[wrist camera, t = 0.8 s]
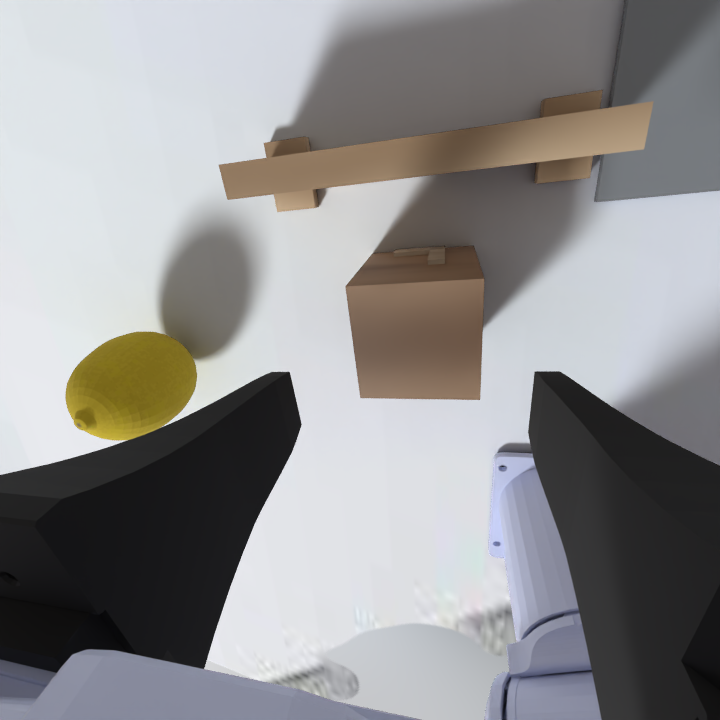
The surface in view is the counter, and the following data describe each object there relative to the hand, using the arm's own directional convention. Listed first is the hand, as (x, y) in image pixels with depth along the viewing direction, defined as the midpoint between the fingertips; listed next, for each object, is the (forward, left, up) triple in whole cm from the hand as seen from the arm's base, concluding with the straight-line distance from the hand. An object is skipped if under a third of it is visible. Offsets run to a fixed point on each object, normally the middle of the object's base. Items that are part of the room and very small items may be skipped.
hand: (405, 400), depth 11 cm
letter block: (0, 0, -10) cm, 10 cm away
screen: (+7, 0, -10) cm, 12 cm away
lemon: (-3, +16, -10) cm, 19 cm away
